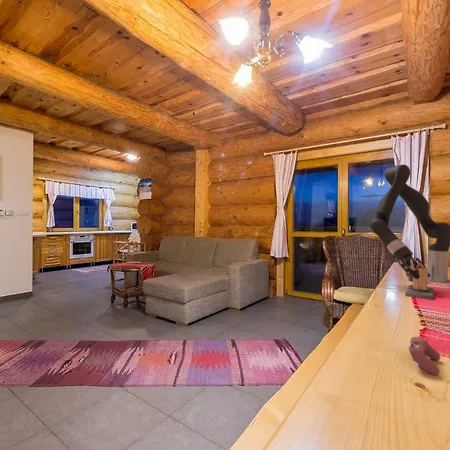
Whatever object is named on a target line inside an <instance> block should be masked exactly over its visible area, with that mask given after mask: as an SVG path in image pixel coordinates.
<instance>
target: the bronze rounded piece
mask: <svg viewBox="0 0 450 450" xmlns="http://www.w3.org/2000/svg"><path fill="white" fill-rule="evenodd" d="M405 268H406V267H405ZM405 276H406V277H407V278H408V280H409V281H410V282H413V276H412V275H411V273H409V272H405Z"/></svg>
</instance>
